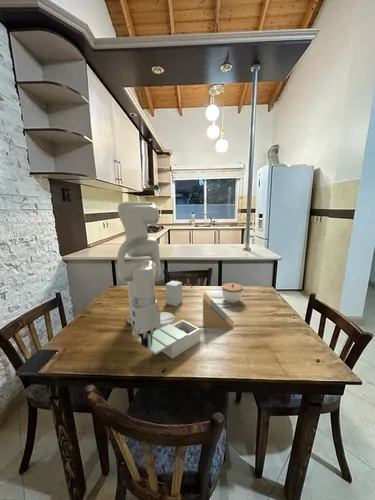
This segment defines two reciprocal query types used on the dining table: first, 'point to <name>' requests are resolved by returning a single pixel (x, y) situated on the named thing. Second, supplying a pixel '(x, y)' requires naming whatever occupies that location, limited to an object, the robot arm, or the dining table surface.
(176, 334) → the lid
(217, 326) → the sandwich container
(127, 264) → the robot arm
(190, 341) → the box
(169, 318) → the ramekin
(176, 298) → the supplement box
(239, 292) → the lidded bowl
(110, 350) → the dining table surface
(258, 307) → the dining table surface
